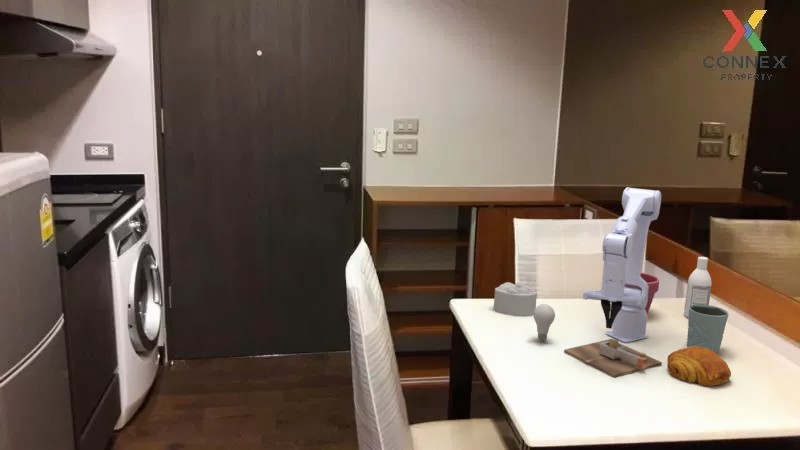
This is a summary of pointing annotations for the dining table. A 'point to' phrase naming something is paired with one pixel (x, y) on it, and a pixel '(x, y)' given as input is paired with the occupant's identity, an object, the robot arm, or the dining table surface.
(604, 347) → the square frame with handle
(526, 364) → the dining table surface
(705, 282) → the bath foam
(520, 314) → the lumpy-topped squat cylinder
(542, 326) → the lightbulb
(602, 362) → the socket base
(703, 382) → the croissant
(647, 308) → the plant pot
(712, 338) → the embossed teal cup
